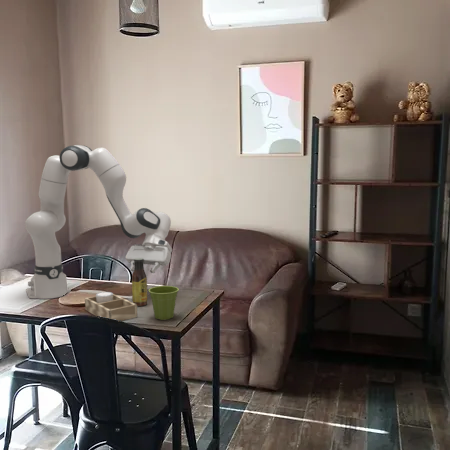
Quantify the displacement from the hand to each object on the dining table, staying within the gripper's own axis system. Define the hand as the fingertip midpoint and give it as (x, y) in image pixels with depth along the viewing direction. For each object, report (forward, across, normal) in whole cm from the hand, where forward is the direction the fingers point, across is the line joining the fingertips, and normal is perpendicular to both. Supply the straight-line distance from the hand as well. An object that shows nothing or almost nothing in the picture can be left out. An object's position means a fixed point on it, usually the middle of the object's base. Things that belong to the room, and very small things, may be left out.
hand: (142, 271), depth 215 cm
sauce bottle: (+12, 0, +8) cm, 14 cm away
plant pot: (+20, +18, 0) cm, 27 cm away
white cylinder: (+20, -10, 0) cm, 22 cm away
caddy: (+22, -5, -2) cm, 22 cm away
